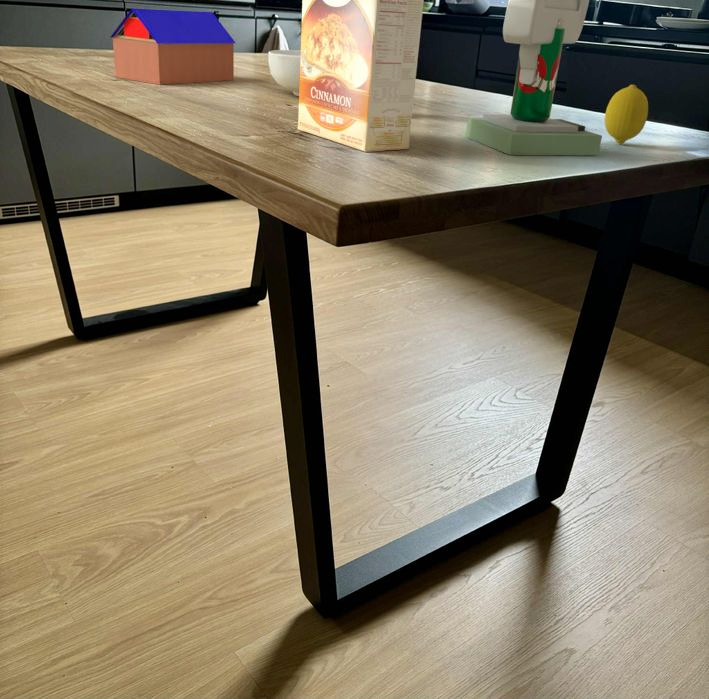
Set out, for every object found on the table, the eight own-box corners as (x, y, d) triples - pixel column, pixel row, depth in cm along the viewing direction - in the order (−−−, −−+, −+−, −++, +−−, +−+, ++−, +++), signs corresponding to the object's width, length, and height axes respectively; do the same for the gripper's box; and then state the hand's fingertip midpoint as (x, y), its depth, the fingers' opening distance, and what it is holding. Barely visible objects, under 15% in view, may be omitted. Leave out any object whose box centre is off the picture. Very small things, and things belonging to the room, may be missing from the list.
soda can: (534, 116, 96) (551, 18, 91) (557, 123, 92) (575, 20, 87) (502, 116, 94) (517, 16, 89) (523, 122, 90) (540, 18, 85)
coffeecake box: (295, 130, 93) (301, -41, 85) (340, 128, 97) (350, -35, 88) (363, 152, 82) (378, -40, 74) (410, 149, 86) (429, -33, 78)
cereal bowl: (334, 89, 137) (336, 50, 134) (381, 102, 124) (385, 59, 121) (252, 89, 129) (252, 46, 125) (294, 103, 116) (295, 56, 113)
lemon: (627, 141, 104) (640, 83, 101) (647, 148, 99) (662, 88, 96) (592, 139, 103) (604, 81, 100) (611, 147, 98) (624, 85, 95)
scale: (547, 138, 102) (551, 113, 100) (598, 155, 92) (603, 129, 90) (465, 136, 98) (468, 111, 96) (509, 155, 88) (513, 127, 86)
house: (112, 77, 131) (107, 6, 125) (191, 73, 146) (189, 9, 141) (159, 84, 125) (156, 11, 120) (236, 79, 140) (235, 14, 135)
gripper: (556, -48, 75) (532, 90, 82) (604, -34, 91) (581, 81, 98) (500, -50, 78) (481, 83, 84) (556, -36, 94) (536, 76, 100)
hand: (535, 82), depth 91 cm, fingers closed on soda can, 5 cm apart
